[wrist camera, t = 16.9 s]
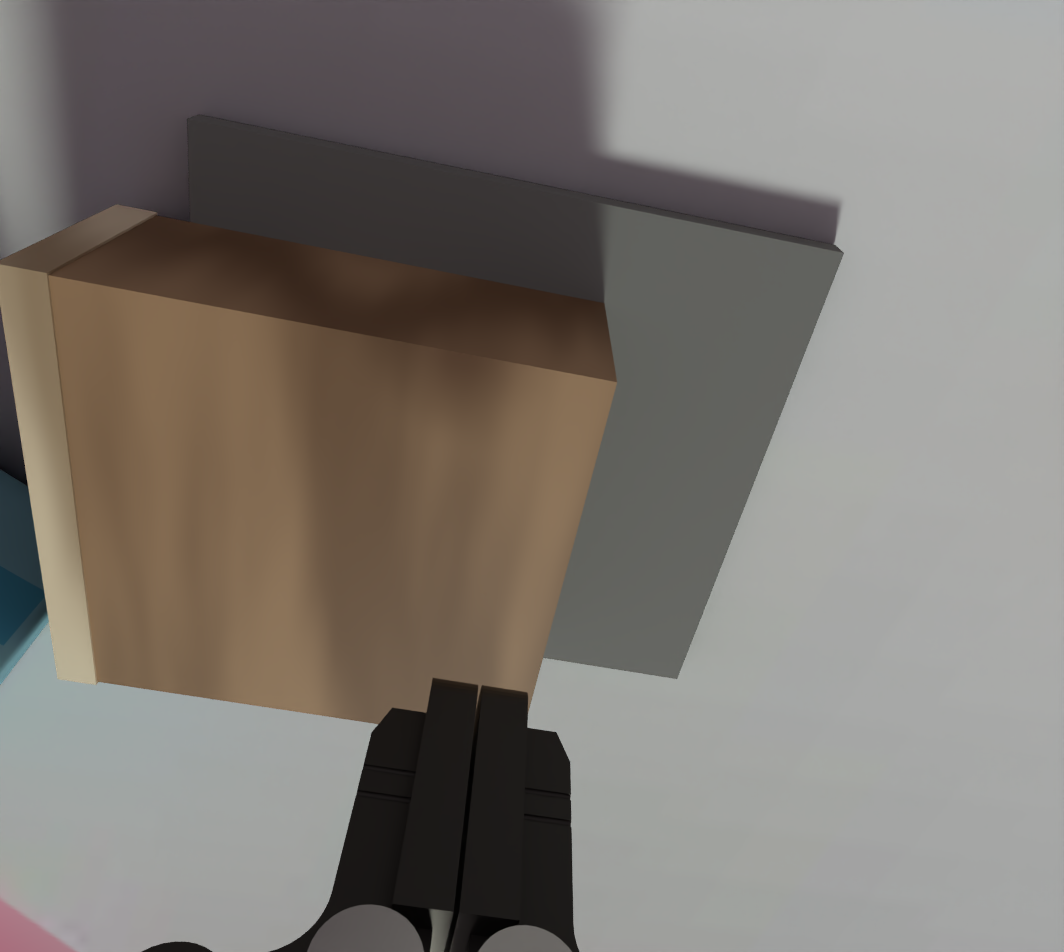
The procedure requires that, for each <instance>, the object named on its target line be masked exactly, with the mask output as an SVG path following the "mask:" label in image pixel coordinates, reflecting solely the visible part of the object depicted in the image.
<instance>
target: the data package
mask: <svg viewBox="0 0 1064 952" xmlns="http://www.w3.org/2000/svg"><path fill="white" fill-rule="evenodd" d="M48 621H49V619H48V612H47V606H46V599H45V593H44V586H43V580H42V573H41V567H40V560H39V554H38V547H37V541H36V534H35V528H34V521H33V515H32V508H31V502H30V495H29V489H28V486H27V485H25V484H23V483H22V482H20V481H18V480H17V479H15V478H13V477H12V476H10V475H8V474H7V473H5V472H3V471H2V470H0V685H1V683H2V682H3V681H4V679H5V678H6V677H7V675H8V674H9V673H10V671H11V670H12V669H13V668H14V666H15V665H16V664H17V662H18V661H19V660H20V658H21V657H22V656H23V654H24V653H25V652H26V650H27V649H28V648H29V646H30V645H31V644H32V643H33V641H34V640H35V639H36V637H37V636H38V635H39V633H40V632H41V631H42V629H43V628H44V627H45V625H46V624H47V623H48Z"/></svg>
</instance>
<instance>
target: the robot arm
mask: <svg viewBox="0 0 1064 952" xmlns="http://www.w3.org/2000/svg"><path fill="white" fill-rule="evenodd" d="M477 696H478V685H476V684H470V683H464V682H457V681H451V680H445V679H438V678H433V679H432V685H431V690H430V696H429V701H428V707H427V712H426V713H425V712H418V711H412V710H405V709H399V708H391V710H390V711H389V712H388V713H387V715H386V716H385V717H384V718H383V719H382V721H381V722H380V723H379V724H378V726H377V727H376V728H375V729H374V730H373V732H372V733H371V737H370V742H369V746H368V750H367V754H366V758H365V762H364V766H363V770H362V774H361V778H360V782H359V786H358V790H357V795H356V798H355V802H354V806H353V810H352V814H351V818H350V822H349V826H348V830H347V834H346V838H345V842H344V846H343V850H342V854H341V858H340V862H339V866H338V870H337V874H336V878H335V882H334V886H333V890H332V894H331V897H330V900H329V902H328V904H327V906H326V908H325V910H324V912H323V914H322V915H321V916H320V918H319V919H318V921H317V922H316V923H315V924H314V925H313V926H312V927H311V928H310V929H309V930H308V931H307V932H306V933H305V934H303V935H302V936H301V937H300V938H298V939H297V940H295V941H293V942H292V943H290V944H288V945H286V946H284V947H282V948H279V949H277V950H273V951H270V952H579V949H578V947H577V944H576V940H575V936H574V927H573V885H572V833H571V800H570V795H571V781H570V761H569V759H568V756H567V754H566V752H565V750H564V748H563V746H562V744H561V741H560V739H559V737H558V735H557V733H556V732H551V731H544V730H538V729H531V728H527V720H528V693H527V692H523V691H516V690H510V689H504V688H497V687H491V686H484V685H482V686H481V690H480V694H479V698H478V703H477ZM476 705H477V707H476ZM142 952H212V951H210V950H209V949H207V948H206V947H203V946H201V945H198V944H195V943H190V942H170V943H163V944H160V945H157V946H153V947H151V948H149V949H146V950H144V951H142Z"/></svg>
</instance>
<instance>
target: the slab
mask: <svg viewBox="0 0 1064 952" xmlns="http://www.w3.org/2000/svg"><path fill="white" fill-rule="evenodd" d="M0 307H1V313H2V320H3V326H4V333H5V339H6V346H7V352H8V359H9V365H10V372H11V378H12V385H13V391H14V398H15V404H16V411H17V417H18V424H19V430H20V437H21V443H22V450H23V456H24V463H25V469H26V476H27V482H28V489H29V495H30V502H31V508H32V515H33V521H34V528H35V534H36V541H37V547H38V554H39V560H40V567H41V573H42V580H43V586H44V593H45V599H46V606H47V612H48V619H49V625H50V632H51V638H52V645H53V651H54V658H55V664H56V671H57V677H58V679H60V680H67V681H74V682H80V683H87V684H94V685H96V684H97V683H98V682H104V683H110V684H117V685H123V686H130V687H137V688H143V689H150V690H157V691H163V692H170V693H176V694H183V695H190V696H196V697H203V698H209V699H216V700H223V701H229V702H236V703H243V704H249V705H256V706H262V707H269V708H276V709H282V710H289V711H296V712H302V713H309V714H315V715H322V716H329V717H335V718H342V719H349V720H355V721H362V722H368V723H375V724H379V723H380V722H381V721H382V719H383V718H384V717H385V716H386V715H387V713H388V712H389V711H390V710H391V708H399V709H405V710H412V711H418V712H425V713H426V712H427V707H428V701H429V696H430V690H431V685H432V679H433V678H438V679H445V680H451V681H457V682H464V683H470V684H476V685H478V696H477V703H478V698H479V694H480V690H481V686H482V685H484V686H491V687H497V688H504V689H510V690H516V691H523V692H527V693H528V711H529V707H530V704H531V700H532V696H533V693H534V689H535V685H536V681H537V678H538V674H539V670H540V667H541V663H542V659H543V655H544V652H545V648H546V644H547V641H548V637H549V633H550V630H551V626H552V622H553V618H554V615H555V611H556V607H557V604H558V600H559V596H560V592H561V589H562V585H563V581H564V578H565V574H566V570H567V567H568V563H569V559H570V555H571V552H572V548H573V544H574V541H575V537H576V533H577V529H578V526H579V522H580V518H581V515H582V511H583V507H584V504H585V500H586V496H587V492H588V489H589V485H590V481H591V478H592V474H593V470H594V466H595V463H596V459H597V455H598V452H599V448H600V444H601V441H602V437H603V433H604V429H605V426H606V422H607V418H608V415H609V411H610V407H611V403H612V400H613V396H614V392H615V389H616V385H617V378H616V372H615V365H614V359H613V353H612V347H611V341H610V335H609V328H608V322H607V316H606V310H605V304H604V303H601V302H596V301H591V300H586V299H581V298H576V297H571V296H566V295H560V294H555V293H550V292H545V291H540V290H535V289H530V288H525V287H520V286H514V285H509V284H504V283H499V282H494V281H489V280H484V279H479V278H474V277H468V276H463V275H458V274H453V273H448V272H443V271H438V270H433V269H428V268H422V267H417V266H412V265H407V264H402V263H397V262H392V261H387V260H382V259H376V258H371V257H366V256H361V255H356V254H351V253H346V252H341V251H336V250H330V249H325V248H320V247H315V246H310V245H305V244H300V243H295V242H290V241H284V240H279V239H274V238H269V237H264V236H259V235H254V234H249V233H244V232H238V231H233V230H228V229H223V228H218V227H213V226H208V225H203V224H198V223H192V222H187V221H182V220H177V219H172V218H167V217H162V216H157V212H153V211H148V210H143V209H138V208H133V207H128V206H122V205H117V204H116V205H114V206H112V207H110V208H108V209H105V210H103V211H101V212H99V213H97V214H95V215H93V216H91V217H89V218H87V219H85V220H83V221H81V222H78V223H76V224H74V225H72V226H70V227H68V228H66V229H64V230H62V231H60V232H58V233H56V234H53V235H51V236H49V237H47V238H45V239H43V240H41V241H39V242H37V243H35V244H33V245H31V246H28V247H26V248H24V249H22V250H20V251H18V252H16V253H14V254H12V255H10V256H8V257H6V258H4V259H1V260H0ZM476 707H477V705H476Z"/></svg>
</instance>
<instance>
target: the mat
mask: <svg viewBox="0 0 1064 952" xmlns="http://www.w3.org/2000/svg"><path fill="white" fill-rule="evenodd" d="M187 133H188V169H189V206H190V222H192V223H198V224H203V225H208V226H213V227H218V228H223V229H228V230H233V231H238V232H244V233H249V234H254V235H259V236H264V237H269V238H274V239H279V240H284V241H290V242H295V243H300V244H305V245H310V246H315V247H320V248H325V249H330V250H336V251H341V252H346V253H351V254H356V255H361V256H366V257H371V258H376V259H382V260H387V261H392V262H397V263H402V264H407V265H412V266H417V267H422V268H428V269H433V270H438V271H443V272H448V273H453V274H458V275H463V276H468V277H474V278H479V279H484V280H489V281H494V282H499V283H504V284H509V285H514V286H520V287H525V288H530V289H535V290H540V291H545V292H550V293H555V294H560V295H566V296H571V297H576V298H581V299H586V300H591V301H596V302H601V303H604V304H605V310H606V316H607V322H608V328H609V335H610V341H611V347H612V353H613V359H614V365H615V372H616V378H617V385H616V389H615V392H614V396H613V400H612V403H611V407H610V411H609V415H608V418H607V422H606V426H605V429H604V433H603V437H602V441H601V444H600V448H599V452H598V455H597V459H596V463H595V466H594V470H593V474H592V478H591V481H590V485H589V489H588V492H587V496H586V500H585V504H584V507H583V511H582V515H581V518H580V522H579V526H578V529H577V533H576V537H575V541H574V544H573V548H572V552H571V555H570V559H569V563H568V567H567V570H566V574H565V578H564V581H563V585H562V589H561V592H560V596H559V600H558V604H557V607H556V611H555V615H554V618H553V622H552V626H551V630H550V633H549V637H548V641H547V644H546V648H545V652H544V655H543V658H549V659H555V660H561V661H568V662H574V663H580V664H586V665H593V666H599V667H605V668H612V669H618V670H624V671H630V672H637V673H643V674H649V675H656V676H662V677H668V678H674V679H677V678H678V675H679V673H680V670H681V667H682V665H683V662H684V660H685V657H686V655H687V652H688V650H689V647H690V644H691V642H692V639H693V637H694V634H695V632H696V629H697V627H698V624H699V621H700V619H701V616H702V614H703V611H704V609H705V606H706V604H707V601H708V599H709V596H710V593H711V591H712V588H713V586H714V583H715V581H716V578H717V576H718V573H719V570H720V568H721V565H722V563H723V560H724V558H725V555H726V553H727V550H728V547H729V545H730V542H731V540H732V537H733V535H734V532H735V530H736V527H737V525H738V522H739V519H740V517H741V514H742V512H743V509H744V507H745V504H746V502H747V499H748V496H749V494H750V491H751V489H752V486H753V484H754V481H755V479H756V476H757V473H758V471H759V468H760V466H761V463H762V461H763V458H764V456H765V453H766V451H767V448H768V445H769V443H770V440H771V438H772V435H773V433H774V430H775V428H776V425H777V422H778V420H779V417H780V415H781V412H782V410H783V407H784V405H785V402H786V400H787V397H788V394H789V392H790V389H791V387H792V384H793V382H794V379H795V377H796V374H797V371H798V369H799V366H800V364H801V361H802V359H803V356H804V354H805V351H806V348H807V346H808V343H809V341H810V338H811V336H812V333H813V331H814V328H815V326H816V323H817V320H818V318H819V315H820V313H821V310H822V308H823V305H824V303H825V300H826V297H827V295H828V292H829V290H830V287H831V285H832V282H833V280H834V277H835V274H836V272H837V269H838V267H839V264H840V262H841V259H842V257H843V254H844V253H843V252H842V251H841V250H840V249H839V248H838V247H837V246H836V245H833V244H828V243H823V242H818V241H813V240H808V239H803V238H798V237H794V236H789V235H784V234H779V233H774V232H769V231H764V230H759V229H755V228H750V227H745V226H740V225H735V224H730V223H725V222H720V221H715V220H711V219H706V218H701V217H696V216H691V215H686V214H681V213H676V212H672V211H667V210H662V209H657V208H652V207H647V206H642V205H637V204H633V203H628V202H623V201H618V200H613V199H608V198H603V197H598V196H593V195H589V194H584V193H579V192H574V191H569V190H564V189H559V188H554V187H550V186H545V185H540V184H535V183H530V182H525V181H520V180H515V179H511V178H506V177H501V176H496V175H491V174H486V173H481V172H476V171H471V170H467V169H462V168H457V167H452V166H447V165H442V164H437V163H432V162H428V161H423V160H418V159H413V158H408V157H403V156H398V155H393V154H389V153H384V152H379V151H374V150H369V149H364V148H359V147H354V146H349V145H345V144H340V143H335V142H330V141H325V140H320V139H315V138H310V137H306V136H301V135H296V134H291V133H286V132H281V131H276V130H271V129H267V128H262V127H257V126H252V125H247V124H242V123H237V122H232V121H227V120H223V119H218V118H213V117H208V116H203V115H197V116H194V117H191V118H188V119H187Z"/></svg>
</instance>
